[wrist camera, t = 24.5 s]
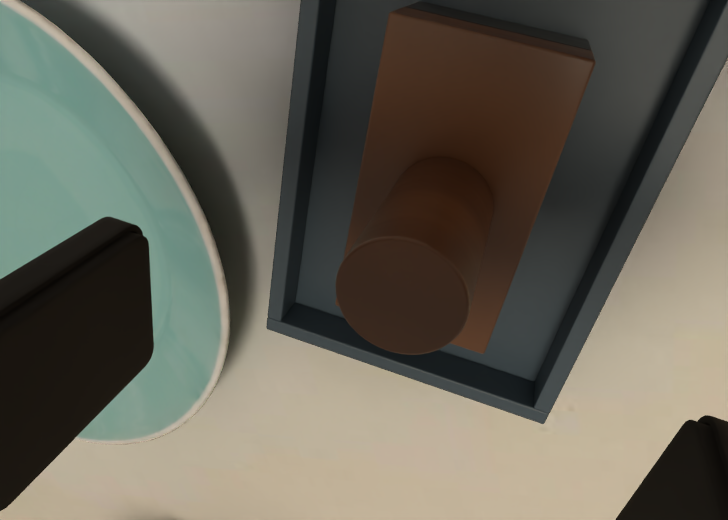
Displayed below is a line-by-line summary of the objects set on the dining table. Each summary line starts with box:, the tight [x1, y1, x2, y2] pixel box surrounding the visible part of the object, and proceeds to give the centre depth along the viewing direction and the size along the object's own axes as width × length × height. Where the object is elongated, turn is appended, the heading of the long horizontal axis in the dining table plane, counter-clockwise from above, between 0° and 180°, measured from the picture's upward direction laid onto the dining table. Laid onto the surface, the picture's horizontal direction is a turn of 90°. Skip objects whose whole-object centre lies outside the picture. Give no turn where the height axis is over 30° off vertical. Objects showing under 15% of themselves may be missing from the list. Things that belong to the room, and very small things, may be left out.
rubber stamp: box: [335, 1, 596, 355], centre depth 15 cm, size 9×5×8 cm, turn 170°
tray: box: [267, 0, 728, 424], centre depth 18 cm, size 15×11×2 cm
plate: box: [0, 0, 230, 445], centre depth 25 cm, size 22×22×3 cm
